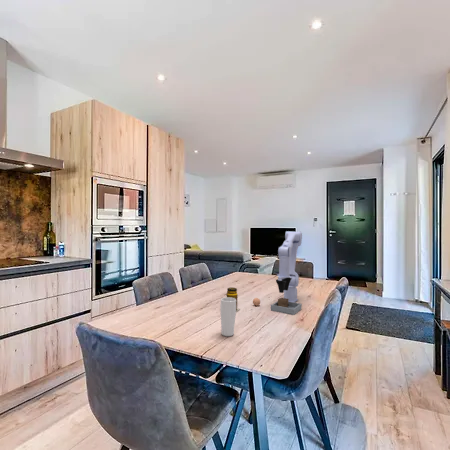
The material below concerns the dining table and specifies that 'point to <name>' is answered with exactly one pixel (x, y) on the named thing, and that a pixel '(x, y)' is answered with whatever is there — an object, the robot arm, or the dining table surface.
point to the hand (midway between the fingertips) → (283, 291)
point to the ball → (256, 301)
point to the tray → (291, 308)
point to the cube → (283, 302)
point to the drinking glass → (228, 315)
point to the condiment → (232, 294)
